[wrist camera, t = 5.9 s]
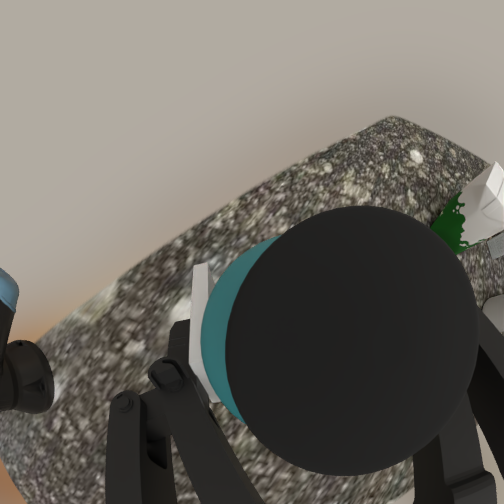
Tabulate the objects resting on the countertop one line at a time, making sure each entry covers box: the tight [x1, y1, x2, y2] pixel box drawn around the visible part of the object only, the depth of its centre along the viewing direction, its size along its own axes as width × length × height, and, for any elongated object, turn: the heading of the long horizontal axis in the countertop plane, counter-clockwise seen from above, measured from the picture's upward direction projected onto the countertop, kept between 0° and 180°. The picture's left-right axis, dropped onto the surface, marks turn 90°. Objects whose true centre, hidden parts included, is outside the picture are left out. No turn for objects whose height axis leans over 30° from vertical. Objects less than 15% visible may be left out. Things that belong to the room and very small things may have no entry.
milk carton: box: [430, 162, 504, 255], centre depth 33 cm, size 9×9×20 cm
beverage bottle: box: [200, 206, 479, 476], centre depth 12 cm, size 6×7×20 cm
